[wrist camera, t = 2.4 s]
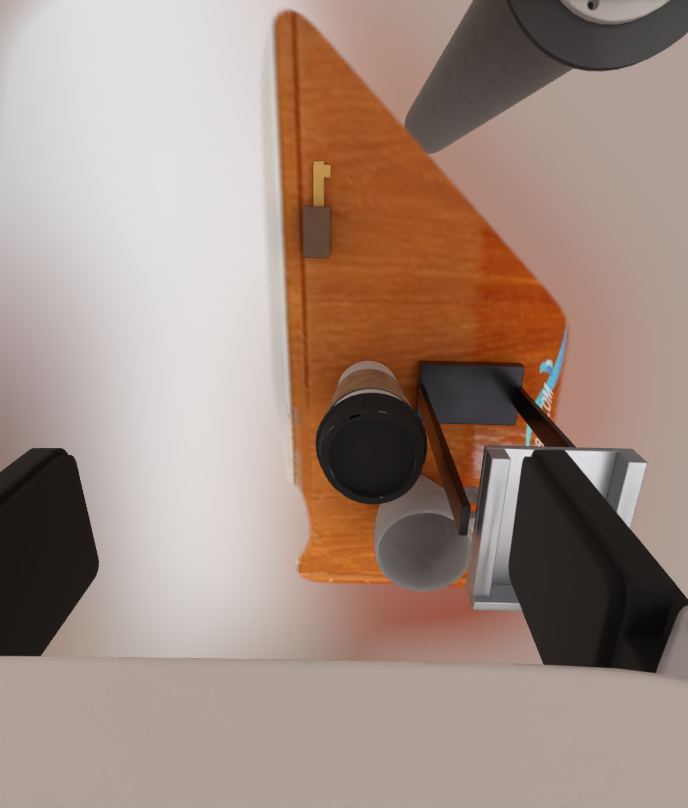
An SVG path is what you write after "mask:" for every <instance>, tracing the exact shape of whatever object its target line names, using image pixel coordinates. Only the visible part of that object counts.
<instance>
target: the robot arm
mask: <svg viewBox="0 0 688 808" xmlns="http://www.w3.org/2000/svg"><path fill="white" fill-rule="evenodd" d="M560 1H561V3H562V4H563V5H564V6H566V7H567V8H568V9H569V10H570V11H571V12H572V13H573V14H575V15H577V16H579V17H581V18H583V19H584V20H586V21H590V22H594V23H598V24H606V25H617V24H622V23H627V22H632V21H635V20H637V19H639V18H642V17H644V16H646V15H649V14H650V13H652V12H653V11H655V10H657V9H658V8H660V7H662V6H663V5H664V4H666V3H667V2H668V1H670V0H560ZM587 4H590V5H591V10H590V9H589V8H588V5H587ZM98 567H99V560H98V555H97V550H96V546H95V542H94V537H93V533H92V529H91V525H90V520H89V515H88V511H87V507H86V503H85V498H84V494H83V490H82V485H81V481H80V476H79V472H78V468H77V463H76V461H75V458H74V457H73V456H72V455H68V453H67V452H66V451H65V450H64V449H62V448H32V449H30V450H29V451H27V452H26V453H25V454H23V455H22V456H21V457H20V458H18V459H17V460H16V461H14V462H13V463H12V464H10V465H9V466H8V467H6V468H5V469H4V470H2V471H1V472H0V808H688V599H687V598H686V597H685V595H684V594H683V593H682V592H681V590H680V589H679V588H678V587H677V585H676V584H675V583H674V581H673V580H672V579H671V578H670V577H669V576H668V574H667V573H666V572H665V571H664V569H663V568H662V567H661V566H660V565H659V563H658V562H657V561H656V560H655V559H654V557H653V556H652V555H651V554H650V552H649V551H648V550H647V549H646V548H645V546H644V545H643V544H642V543H641V541H640V540H639V539H638V538H637V537H636V536H635V534H634V533H633V532H632V531H631V529H630V528H629V527H628V526H627V525H626V523H625V522H624V521H623V520H622V518H621V517H620V516H619V515H618V514H617V512H616V511H615V510H614V509H613V508H612V506H611V505H610V504H609V503H608V502H607V500H606V499H605V498H604V497H603V495H602V494H601V493H600V492H599V491H598V489H597V488H596V487H595V486H594V485H593V483H592V482H591V481H590V480H589V479H588V477H587V476H586V475H585V474H584V472H583V471H582V470H581V469H580V468H579V466H578V465H577V464H576V463H575V462H574V460H573V459H572V458H571V457H570V456H569V454H568V453H567V452H566V451H565V450H534V451H533V453H532V455H531V456H525V457H524V459H523V461H522V467H521V474H520V482H519V489H518V496H517V504H516V511H515V519H514V526H513V533H512V541H511V548H510V556H509V564H508V570H509V577H510V581H511V584H512V586H513V589H514V591H515V594H516V596H517V599H518V601H519V604H520V606H521V609H522V611H523V614H524V617H525V619H526V621H527V624H528V626H529V629H530V631H531V634H532V637H533V639H534V641H535V644H536V647H537V649H538V652H539V654H540V657H541V659H542V661H543V664H544V665H539V664H537V665H536V664H501V663H499V664H498V663H448V662H447V663H445V662H399V661H398V662H397V661H344V660H339V661H338V660H278V659H216V658H213V659H212V658H134V657H132V658H131V657H130V658H129V657H57V656H56V657H55V656H41V655H42V653H43V652H44V650H45V649H46V647H47V646H48V645H49V643H50V641H51V640H52V639H53V637H54V636H55V635H56V633H57V632H58V630H59V629H60V627H61V626H62V624H63V623H64V622H65V620H66V619H67V617H68V616H69V614H70V613H71V612H72V610H73V609H74V607H75V606H76V604H77V603H78V601H79V600H80V599H81V597H82V596H83V594H84V593H85V591H86V590H87V589H88V587H89V586H90V584H91V583H92V581H93V580H94V578H95V577H96V574H97V571H98Z"/></svg>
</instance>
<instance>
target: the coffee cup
mask: <svg viewBox="0 0 688 808" xmlns="http://www.w3.org/2000/svg"><path fill="white" fill-rule="evenodd" d="M316 452H317V457H318V460H319V463H320V466H321V468H322V469H323V471H324V474H325V476H326V477H327V479H328V481H329V482H330V483H331V484H332V486H333V487H334V488H335V489H336V490H337V491H339V492H340V493H341V494H342V495H344V496H346V497H347V498H349V499H351V500H354V501H357V502H360V503H366V504H382V503H387V502H391V501H393V500H396V499H398V498H400V497H401V496H403V495H404V494H406V493H407V492H408V491H409V490H410V489H411V488H412V487H413V486H414V484H415V483H416V482H417V480H418V478H419V476H420V474H421V471H422V467H423V464H424V462H425V458H426V453H427V435H426V431H425V427H424V425H423V423H422V421H421V419H420V417H419V416H418V415H417V413H416V412H415V411H414V410H413V408H412V406H411V405H410V403H409V401H408V399H407V397H406V396H405V394H404V392H403V390H402V389H401V387H400V385H399V384H398V382H397V380H396V378H395V376H394V374H393V373H392V372H391V370H390V369H388V368H387V367H386V366H385V365H383V364H381V363H378V362H375V361H361V362H357V363H355V364H353V365H351V366H350V367H349V368H347V369H346V370H345V371H344V372H343V374H342V376H341V377H340V379H339V382H338V385H337V388H336V390H335V392H334V395H333V397H332V400H331V402H330V405H329V407H328V410H327V412H326V415H325V416H324V418H323V419H322V421H321V423H320V425H319V428H318V431H317V435H316Z"/></svg>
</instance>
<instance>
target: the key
mask: <svg viewBox="0 0 688 808" xmlns="http://www.w3.org/2000/svg"><path fill="white" fill-rule="evenodd" d="M324 178H331V165H324V161H313V206H303V257H304V258H329V257H330V255H331V214H332V207H331V206H324Z"/></svg>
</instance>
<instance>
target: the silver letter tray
mask: <svg viewBox="0 0 688 808" xmlns="http://www.w3.org/2000/svg"><path fill="white" fill-rule="evenodd" d="M534 450H565V451H566V452H567V453H568V454H569V456H570V457H571V458H572V459H573V460H574V462H575V463H576V464H577V465H578V466H579V468H580V469H581V470H582V471H583V472H584V474H585V475H586V476H587V477H588V479H589V480H590V481H591V482H592V483H593V485H594V486H595V487H596V488H597V489H598V491H599V492H600V493H601V494H602V495H603V497H604V498H605V499H606V500H607V502H608V503H609V504H610V505H611V506H612V508H613V509H614V510H615V511H616V512H617V514H618V515H619V516H620V517H621V518H622V520H623V521H624V522H625V523H626V525H627V526H628V527H629V528H631V524H632V520H633V516H634V513H635V509H636V505H637V501H638V498H639V494H640V490H641V486H642V483H643V479H644V475H645V471H646V467H647V462H646V461H645V460H644V459H643V458H642V457H641V456H640V455H638V454H637V453H636V452H635V451H634V450H633V449H612V448H610V449H609V448H574V447H535V446H496V445H485V448H484V455H483V463H482V470H481V478H480V485H479V493H478V500H477V508H476V515H475V523H474V530H473V538H472V546H471V553H470V561H469V568H468V576H467V583H466V587H467V590H468V594H469V597H470V601H471V604H472V607H473V609H474V610H496V611H497V610H498V611H522V609H521V606H520V604H519V601H518V599H517V596H516V594H515V591H514V589H513V586H512V584H511V581H510V577H509V570H508V564H509V556H510V548H511V541H512V533H513V526H514V519H515V511H516V504H517V496H518V489H519V482H520V474H521V467H522V461H523V459H524V457H525V456H531V455H532V453H533V451H534Z"/></svg>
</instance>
